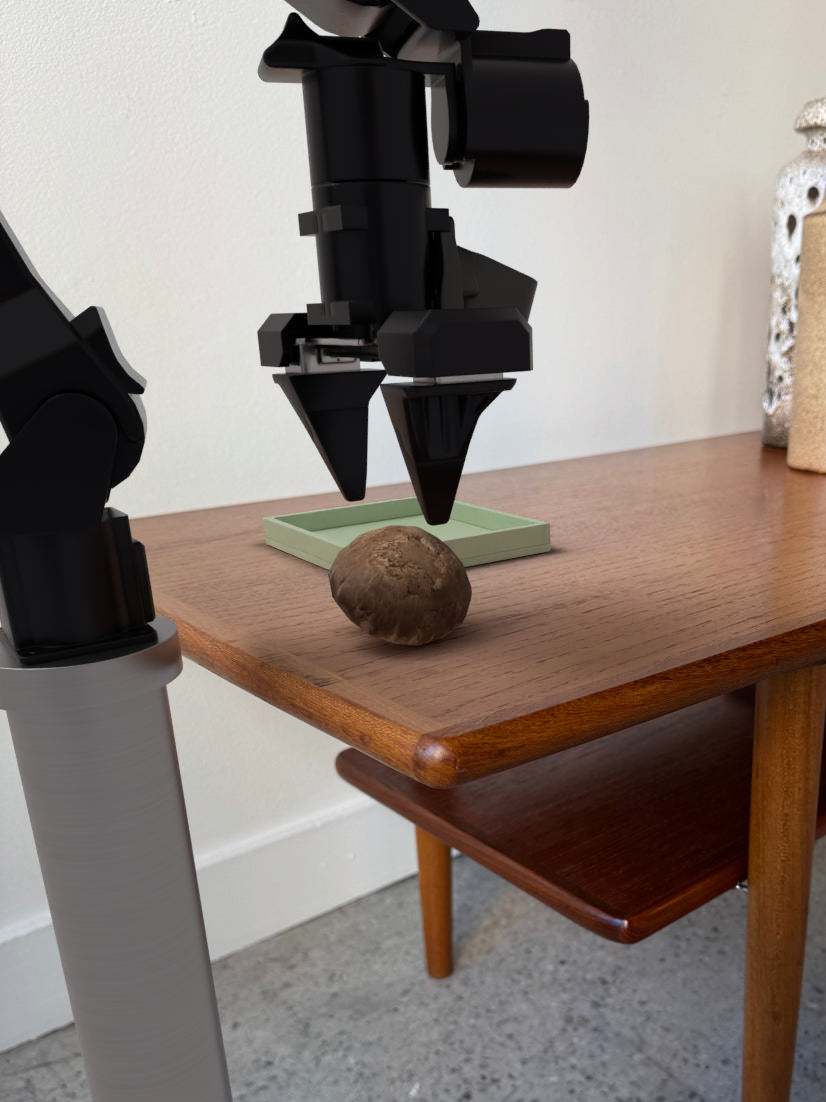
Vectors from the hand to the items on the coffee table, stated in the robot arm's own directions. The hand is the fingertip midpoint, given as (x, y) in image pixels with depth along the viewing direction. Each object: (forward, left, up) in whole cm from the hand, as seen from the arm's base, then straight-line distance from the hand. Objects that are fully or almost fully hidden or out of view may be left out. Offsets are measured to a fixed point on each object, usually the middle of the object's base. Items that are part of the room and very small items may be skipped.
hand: (394, 511), depth 56 cm
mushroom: (0, 0, -7) cm, 7 cm away
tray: (+11, +20, -7) cm, 24 cm away
